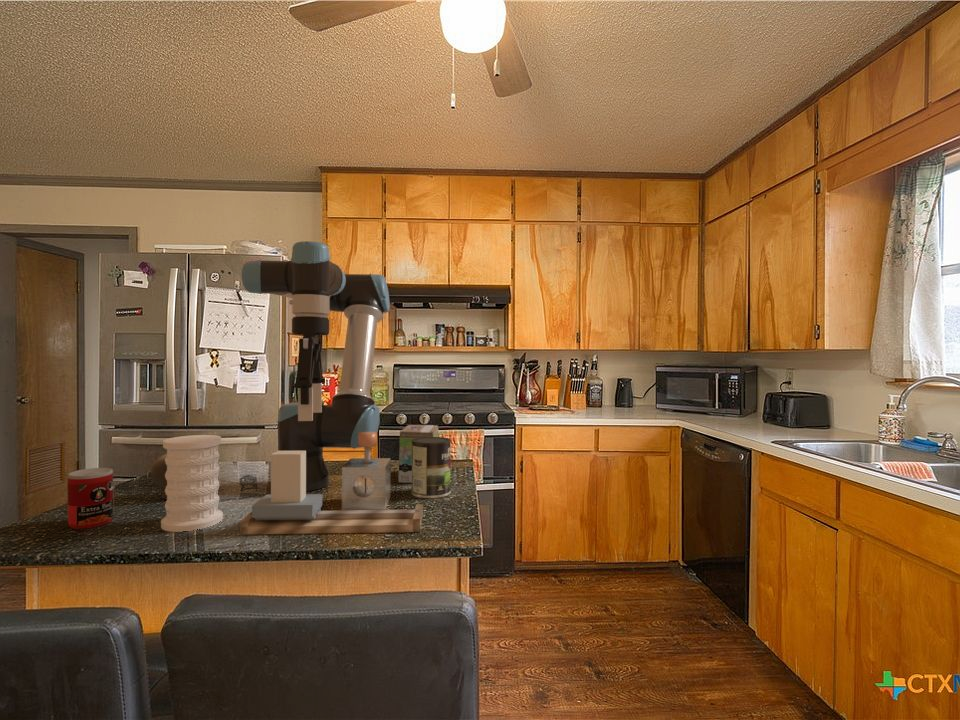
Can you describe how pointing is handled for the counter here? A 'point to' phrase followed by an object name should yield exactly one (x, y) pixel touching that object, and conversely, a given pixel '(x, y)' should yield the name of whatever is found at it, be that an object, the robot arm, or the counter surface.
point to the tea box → (406, 447)
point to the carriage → (287, 490)
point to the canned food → (90, 498)
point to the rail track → (340, 522)
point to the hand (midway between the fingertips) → (310, 416)
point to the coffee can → (431, 467)
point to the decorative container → (192, 483)
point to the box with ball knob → (366, 484)
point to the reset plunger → (367, 443)
